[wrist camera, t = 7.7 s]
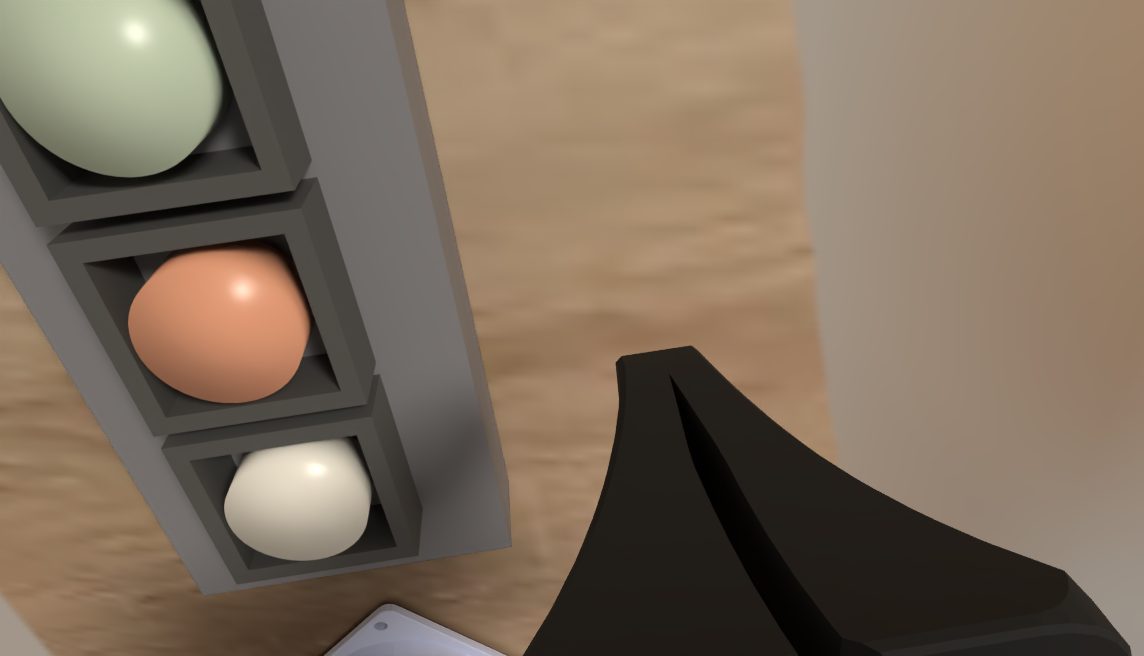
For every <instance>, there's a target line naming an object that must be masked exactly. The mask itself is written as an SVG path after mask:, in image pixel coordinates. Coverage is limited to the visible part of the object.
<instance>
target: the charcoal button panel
mask: <svg viewBox="0 0 1144 656" xmlns="http://www.w3.org/2000/svg"><path fill="white" fill-rule="evenodd" d="M196 1H197V2H198V3H199V4H200V5H201V6H202V7H203V9H204V11H205V14H206V17H207V20H208V23H209V25H210V28H211V31H212V34H213V36H214V39H215V42H216V45H217V48H218V50H219V53H220V56H221V59H222V61H223V64H224V67H225V70H226V73H227V75H228V78H229V81H230V84H231V87H232V96H231V100H230V103H229V107H228V109H227V111H226V113H225V116H224V117H223V119H222V120H221V122H220V123H219V125H218V126H217V127H216V128H215V129H214V130H213V131H212V132H211V133H210V134H209V135H208V136H207V137H206V138H205V139H204V140H203V141H202V142H201V143H200V144H199V145H198V146H197V147H196V148H195V149H194V150H193V151H192V152H191V153H190V154H189V155H188V156H187V157H186V158H184V159H183V160H182V161H181V162H179V163H178V164H177V165H175V166H173V167H171V168H169V169H167V170H165V171H162V172H159V173H157V174H152V175H148V176H142V177H116V176H109V175H104V174H100V173H96V172H92V171H89V170H86V169H84V168H81V167H78V166H76V165H74V164H72V163H70V162H68V161H66V160H64V159H62V158H60V157H59V156H57V155H55V154H54V153H52V152H50V151H49V150H48V149H46V148H45V147H44V146H42V145H41V144H40V143H38V142H37V141H36V140H35V139H34V138H33V137H32V136H31V135H29V134H28V133H27V132H26V131H25V130H24V129H23V128H22V126H21V125H20V124H19V123H18V122H17V121H16V120H15V118H14V117H13V116H12V114H11V113H10V112H9V111H8V109H7V108H6V106H5V104H4V103H3V101H2V99H1V98H0V262H1V264H2V266H3V267H4V269H5V271H6V272H7V274H8V275H9V277H10V279H11V280H12V282H13V284H14V285H15V287H16V289H17V290H18V292H19V294H20V295H21V297H22V298H23V300H24V302H25V303H26V305H27V307H28V308H29V310H30V312H31V313H32V315H33V317H34V318H35V320H36V321H37V323H38V325H39V326H40V328H41V330H42V331H43V333H44V335H45V336H46V338H47V340H48V341H49V343H50V344H51V346H52V348H53V349H54V351H55V353H56V354H57V356H58V358H59V359H60V361H61V363H62V364H63V366H64V367H65V369H66V371H67V372H68V374H69V376H70V377H71V379H72V381H73V382H74V384H75V386H76V387H77V389H78V390H79V392H80V394H81V395H82V397H83V399H84V400H85V402H86V404H87V405H88V407H89V409H90V410H91V412H92V414H93V415H94V417H95V418H96V420H97V422H98V423H99V425H100V427H101V428H102V430H103V432H104V433H105V435H106V437H107V438H108V440H109V441H110V443H111V445H112V446H113V448H114V450H115V451H116V453H117V455H118V456H119V458H120V460H121V461H122V463H123V464H124V466H125V468H126V469H127V471H128V473H129V474H130V476H131V478H132V479H133V481H134V483H135V484H136V486H137V487H138V489H139V491H140V492H141V494H142V496H143V497H144V499H145V501H146V502H147V504H148V506H149V507H150V509H151V510H152V512H153V514H154V515H155V517H156V519H157V520H158V522H159V524H160V525H161V527H162V529H163V530H164V532H165V533H166V535H167V537H168V538H169V540H170V542H171V543H172V545H173V547H174V548H175V550H176V552H177V553H178V555H179V556H180V558H181V560H182V561H183V563H184V565H185V566H186V568H187V570H188V571H189V573H190V575H191V576H192V578H193V579H194V581H195V583H196V584H197V586H198V588H199V589H200V591H201V593H202V594H203V596H207V595H213V594H219V593H226V592H232V591H238V590H244V589H251V588H257V587H263V586H270V585H276V584H282V583H288V582H295V581H301V580H307V579H313V578H320V577H326V576H332V575H339V574H345V573H351V572H357V571H364V570H370V569H376V568H382V567H389V566H395V565H401V564H407V563H414V562H420V561H426V560H433V559H439V558H445V557H451V556H458V555H464V554H470V553H476V552H483V551H489V550H495V549H501V548H508V547H512V543H511V521H510V498H509V480H508V476H507V471H506V467H505V462H504V458H503V453H502V448H501V444H500V439H499V435H498V430H497V426H496V421H495V416H494V412H493V407H492V403H491V398H490V394H489V389H488V384H487V380H486V375H485V371H484V366H483V362H482V357H481V352H480V348H479V343H478V339H477V334H476V330H475V325H474V320H473V316H472V311H471V307H470V302H469V298H468V293H467V288H466V284H465V279H464V275H463V270H462V266H461V261H460V256H459V252H458V247H457V243H456V238H455V234H454V229H453V224H452V220H451V215H450V211H449V206H448V202H447V197H446V193H445V188H444V183H443V179H442V174H441V170H440V165H439V161H438V156H437V151H436V147H435V142H434V138H433V133H432V129H431V124H430V119H429V115H428V110H427V106H426V101H425V97H424V92H423V87H422V83H421V78H420V74H419V69H418V65H417V60H416V55H415V51H414V46H413V42H412V37H411V33H410V28H409V23H408V19H407V14H406V10H405V5H404V1H403V0H196ZM246 239H256V240H259V241H261V242H264V243H266V244H268V245H270V246H272V247H274V248H275V249H277V250H279V251H280V252H282V253H283V254H284V255H286V256H287V257H288V258H289V259H291V260H292V261H293V262H294V263H295V265H296V267H297V270H298V273H299V276H300V278H301V281H302V284H303V287H304V290H305V292H306V295H307V298H308V301H309V303H310V306H311V309H312V312H313V315H314V317H315V322H314V326H313V328H312V331H311V334H310V337H309V339H308V342H307V345H306V348H305V350H304V353H303V356H302V359H301V361H300V364H299V367H298V369H297V371H296V372H295V374H294V376H293V377H292V378H291V379H290V380H289V382H288V383H287V384H285V385H284V386H283V387H282V388H281V389H279V390H278V391H276V392H274V393H273V394H271V395H268V396H266V397H264V398H261V399H258V400H254V401H249V402H242V403H220V402H212V401H207V400H202V399H199V398H196V397H192V396H190V395H187V394H185V393H182V392H180V391H179V390H177V389H175V388H173V387H171V386H170V385H168V384H166V383H165V382H163V381H162V380H161V379H160V378H158V377H157V376H156V375H155V374H154V373H153V372H151V371H150V370H149V369H148V368H147V366H146V365H145V364H144V363H143V361H142V360H141V359H140V357H139V356H138V354H137V352H136V351H135V348H134V346H133V344H132V341H131V338H130V334H129V327H128V318H129V312H130V308H131V305H132V303H133V300H134V298H135V297H136V295H137V294H138V292H139V291H140V290H141V288H142V287H143V286H144V285H145V283H146V282H147V281H148V280H149V278H150V277H151V276H152V275H153V273H154V272H155V271H156V270H157V268H158V267H159V266H160V265H161V264H162V262H163V261H164V260H165V259H166V257H167V256H168V255H169V254H170V253H171V252H172V251H173V250H177V249H184V248H191V247H198V246H205V245H212V244H219V243H226V242H232V241H239V240H246ZM347 436H352V437H353V438H355V439H356V440H357V441H358V442H359V443H360V445H361V448H362V451H363V454H364V456H365V459H366V462H367V465H368V468H369V470H370V473H371V476H372V479H373V482H374V486H373V492H372V497H371V503H370V509H369V515H368V520H367V525H366V528H365V530H364V532H363V534H362V535H361V537H360V538H359V539H358V540H357V541H356V542H355V543H354V544H353V545H352V546H351V547H349V548H348V549H346V550H344V551H343V552H341V553H338V554H336V555H333V556H330V557H327V558H323V559H318V560H308V561H297V560H287V559H281V558H276V557H273V556H269V555H266V554H264V553H261V552H259V551H257V550H255V549H253V548H252V547H250V546H248V545H247V544H245V543H244V542H243V541H242V540H241V539H239V538H238V537H237V536H236V535H235V533H234V532H233V531H232V529H231V528H230V526H229V525H228V522H227V520H226V517H225V512H224V504H225V499H226V496H227V493H228V491H229V488H230V486H231V484H232V481H233V479H234V476H235V474H236V471H237V469H238V466H239V464H240V461H241V459H242V456H243V454H244V452H250V451H256V450H263V449H269V448H276V447H282V446H289V445H295V444H302V443H308V442H315V441H321V440H328V439H334V438H341V437H347Z"/></svg>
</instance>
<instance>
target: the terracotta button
mask: <svg viewBox="0 0 1144 656" xmlns="http://www.w3.org/2000/svg"><path fill="white" fill-rule="evenodd" d="M314 322H315V317H314V315H313V312H312V309H311V306H310V303H309V301H308V298H307V295H306V292H305V290H304V287H303V284H302V281H301V278H300V276H299V273H298V270H297V267H296V265H295V263H294V262H293V261H292V260H291V259H289V258H288V257H287V256H286V255H284V254H283V253H282V252H280V251H279V250H277V249H275V248H274V247H272V246H270V245H268V244H266V243H264V242H261V241H259V240H256V239H246V240H239V241H232V242H226V243H219V244H212V245H205V246H198V247H191V248H184V249H177V250H173V251H172V252H171V253H170V254H169V255H168V256H167V257H166V259H165V260H164V261H163V262H162V264H161V265H160V266H159V267H158V268H157V270H156V271H155V272H154V273H153V275H152V276H151V277H150V278H149V280H148V281H147V282H146V283H145V285H144V286H143V287H142V288H141V290H140V291H139V292H138V294H137V295H136V297H135V298H134V300H133V303H132V305H131V308H130V312H129V318H128V327H129V334H130V338H131V341H132V344H133V346H134V348H135V351H136V352H137V354H138V356H139V357H140V359H141V360H142V361H143V363H144V364H145V365H146V366H147V368H148V369H149V370H150V371H151V372H153V373H154V374H155V375H156V376H157V377H158V378H160V379H161V380H162V381H163V382H165V383H166V384H168V385H170V386H171V387H173V388H175V389H177V390H179V391H180V392H182V393H185V394H187V395H190V396H192V397H196V398H199V399H202V400H207V401H212V402H220V403H242V402H249V401H254V400H258V399H261V398H264V397H266V396H268V395H271V394H273V393H274V392H276V391H278V390H279V389H281V388H282V387H283V386H284V385H285V384H287V383H288V382H289V380H290V379H291V378H292V377H293V376H294V374H295V372H296V371H297V369H298V367H299V364H300V361H301V359H302V356H303V353H304V350H305V348H306V345H307V342H308V339H309V337H310V334H311V331H312V328H313V326H314Z"/></svg>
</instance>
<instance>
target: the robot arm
mask: <svg viewBox="0 0 1144 656" xmlns="http://www.w3.org/2000/svg"><path fill="white" fill-rule="evenodd" d="M616 372H617V382H618V392H619V410H618V418H617V425H616V433H615V439H614V444H613V448H612V453H611V457H610V462H609V466H608V471H607V475H606V478H605V482H604V485H603V489H602V492H601V495H600V499H599V502H598V505H597V508H596V511H595V514H594V516H593V519H592V522H591V524H590V527H589V529H588V532H587V534H586V537H585V540H584V542H583V545H582V547H581V549H580V552H579V554H578V556H577V559H576V561H575V563H574V565H573V567H572V569H571V571H570V573H569V575H568V577H567V579H566V581H565V583H564V585H563V587H562V589H561V591H560V593H559V595H558V597H557V599H556V601H555V603H554V605H553V607H552V608H551V610H550V612H549V614H548V615H547V617H546V619H545V620H544V622H543V624H542V625H541V627H540V628H539V630H538V632H537V633H536V635H535V637H534V638H533V640H532V642H531V643H530V645H529V646H528V648H527V650H526V651H525V653H524V655H523V656H1132V655H1131V649H1130V646H1129V645H1128V644H1127V642H1126V641H1125V640H1124V639H1123V637H1121V635H1120V634H1119V633H1118V631H1117V630H1116V629H1115V628H1114V627H1113V625H1112V624H1111V623H1110V622H1109V620H1108V619H1107V618H1106V616H1105V615H1104V614H1103V613H1102V612H1101V610H1100V609H1099V608H1098V607H1097V606H1096V604H1095V603H1094V602H1093V601H1092V599H1091V598H1090V597H1089V596H1088V595H1087V594H1086V593H1085V592H1084V591H1083V590H1082V589H1081V588H1080V587H1079V586H1078V585H1077V584H1076V583H1075V582H1074V581H1073V580H1072V578H1071V577H1070V576H1069V575H1068V574H1067V573H1066V572H1065V571H1063V570H1061V569H1057V568H1055V567H1052V566H1050V565H1047V564H1044V563H1041V562H1039V561H1036V560H1033V559H1031V558H1028V557H1025V556H1022V555H1020V554H1017V553H1014V552H1011V551H1009V550H1006V549H1003V548H1001V547H998V546H995V545H992V544H990V543H987V542H984V541H982V540H980V539H977V538H975V537H973V536H970V535H968V534H966V533H964V532H961V531H959V530H957V529H954V528H952V527H950V526H947V525H945V524H943V523H940V522H938V521H936V520H934V519H932V518H930V517H928V516H925V515H924V514H922V513H919V512H917V511H915V510H913V509H911V508H909V507H907V506H905V505H904V504H902V503H900V502H898V501H896V500H894V499H892V498H890V497H888V496H887V495H885V494H883V493H881V492H879V491H877V490H875V489H873V488H871V487H870V486H868V485H866V484H865V483H863V482H861V481H859V480H857V479H856V478H854V477H853V476H851V475H849V474H848V473H846V472H845V471H843V470H841V469H840V468H838V467H837V466H835V465H834V464H832V463H830V462H829V461H827V460H826V459H824V458H823V457H821V456H820V455H818V454H817V453H815V452H814V451H813V450H811V449H810V448H808V447H807V446H806V445H804V444H803V443H802V442H800V441H799V440H798V439H796V438H795V437H794V436H792V435H791V434H790V433H788V432H787V431H786V430H785V429H783V428H782V427H781V426H780V425H778V424H777V423H776V422H775V421H773V420H772V419H771V418H770V417H768V416H767V415H766V414H765V413H764V412H763V411H762V410H760V409H759V408H758V407H757V406H756V405H755V404H753V403H752V402H751V401H750V400H749V399H748V398H746V397H745V396H744V395H743V394H742V393H741V392H740V391H739V390H738V389H736V388H735V387H734V386H733V385H732V384H731V383H730V382H729V381H728V380H727V379H726V378H725V377H724V376H723V375H722V374H721V373H720V372H719V371H718V370H717V369H716V368H715V367H714V366H713V365H712V364H711V363H710V362H709V361H708V360H707V359H706V358H705V357H704V356H703V355H702V354H701V353H700V352H699V351H698V350H697V349H695V348H694V347H693V346H685V347H678V348H672V349H665V350H659V351H652V352H646V353H639V354H632V355H626V356H621V357H620V358H619V360H618V361H617V362H616ZM324 656H507V655H505V654H502V653H500V652H498V651H496V650H494V649H491V648H489V647H487V646H485V645H483V644H480V643H478V642H476V641H474V640H472V639H470V638H467V637H465V636H463V635H461V634H459V633H456V632H454V631H452V630H450V629H448V628H445V627H443V626H441V625H439V624H437V623H434V622H432V621H430V620H428V619H426V618H424V617H421V616H419V615H417V614H415V613H413V612H410V611H408V610H406V609H404V608H402V607H399V606H397V605H394V604H385V605H382V606H381V607H379V608H378V609H377V610H375V611H374V612H373V613H372V614H371V615H370V616H369V617H367V618H366V619H365V620H364V621H363V622H362V623H361V624H359V625H358V626H357V627H356V628H355V629H354V630H353V631H351V632H350V633H349V634H348V635H347V636H346V637H345V638H343V639H342V640H341V641H340V642H339V643H338V644H337V645H335V646H334V647H333V648H332V649H331V650H330V651H329V652H327V653H326V654H325V655H324Z"/></svg>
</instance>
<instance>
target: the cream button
mask: <svg viewBox="0 0 1144 656" xmlns="http://www.w3.org/2000/svg"><path fill="white" fill-rule="evenodd" d="M373 486H374V482H373V479H372V476H371V473H370V470H369V468H368V465H367V462H366V459H365V456H364V454H363V451H362V448H361V445H360V443H359V442H358V441H357V440H356V439H355V438H353V437H352V436H347V437H341V438H334V439H328V440H321V441H315V442H308V443H302V444H295V445H289V446H282V447H276V448H269V449H263V450H256V451H250V452H244V454H243V456H242V459H241V461H240V464H239V466H238V469H237V471H236V474H235V476H234V479H233V481H232V484H231V486H230V488H229V491H228V493H227V496H226V499H225V504H224V512H225V517H226V520H227V522H228V525H229V526H230V528H231V529H232V531H233V532H234V533H235V535H236V536H237V537H238V538H239V539H241V540H242V541H243V542H244V543H245V544H247V545H248V546H250V547H252V548H253V549H255V550H257V551H259V552H261V553H264V554H266V555H269V556H273V557H276V558H281V559H287V560H297V561H308V560H318V559H323V558H327V557H330V556H333V555H336V554H338V553H341V552H343V551H344V550H346V549H348V548H349V547H351V546H352V545H353V544H354V543H355V542H356V541H357V540H358V539H359V538H360V537H361V535H362V534H363V532H364V530H365V528H366V525H367V520H368V515H369V509H370V503H371V497H372V492H373Z"/></svg>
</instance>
